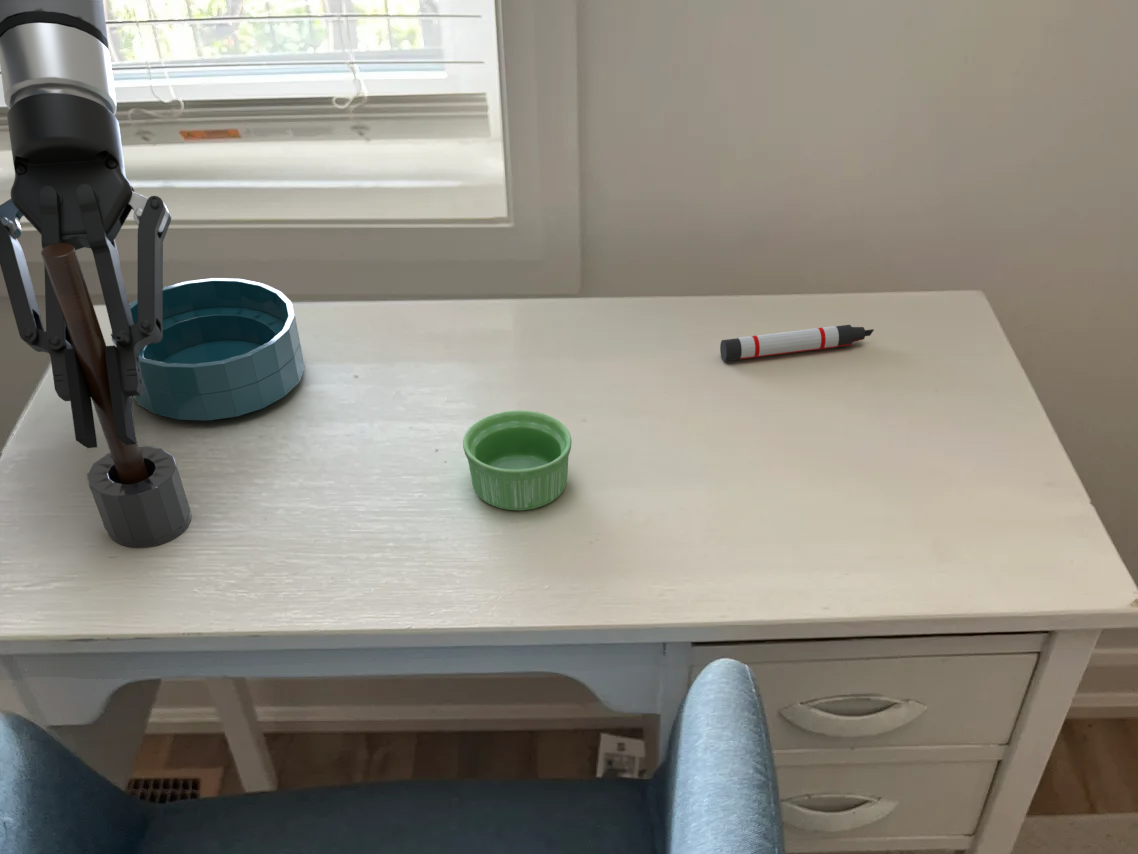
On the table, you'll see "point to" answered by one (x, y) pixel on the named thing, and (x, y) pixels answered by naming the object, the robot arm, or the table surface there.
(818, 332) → the marker
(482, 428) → the ramekin
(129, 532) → the crock
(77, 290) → the stick
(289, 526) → the table surface
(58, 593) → the table surface
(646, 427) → the table surface
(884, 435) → the table surface
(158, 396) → the bowl
